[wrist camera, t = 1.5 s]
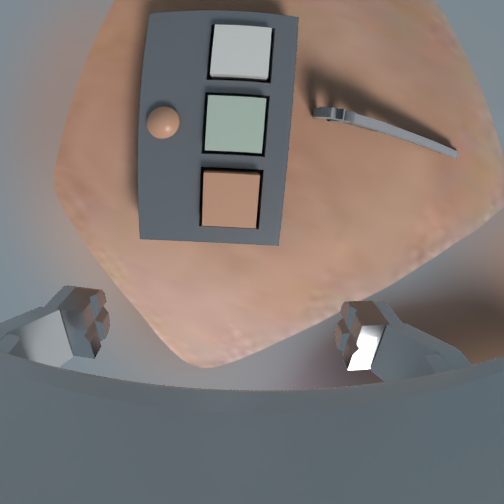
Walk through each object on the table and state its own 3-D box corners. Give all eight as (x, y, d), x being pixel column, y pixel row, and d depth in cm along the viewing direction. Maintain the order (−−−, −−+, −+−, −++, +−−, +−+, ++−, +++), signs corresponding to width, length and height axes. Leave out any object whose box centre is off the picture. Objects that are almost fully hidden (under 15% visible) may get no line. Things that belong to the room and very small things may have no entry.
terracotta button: (206, 168, 29) (203, 172, 26) (257, 170, 29) (260, 175, 26) (205, 216, 31) (202, 225, 28) (253, 219, 31) (255, 228, 28)
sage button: (211, 98, 26) (208, 95, 23) (263, 101, 26) (266, 98, 24) (207, 148, 28) (204, 150, 25) (259, 150, 28) (261, 153, 26)
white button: (216, 33, 23) (214, 24, 21) (268, 37, 24) (271, 27, 21) (212, 79, 25) (210, 73, 23) (264, 82, 26) (267, 77, 23)
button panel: (159, 25, 24) (148, 11, 20) (291, 29, 25) (299, 15, 21) (149, 226, 33) (138, 241, 29) (273, 232, 34) (279, 248, 30)
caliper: (310, 118, 29) (327, 116, 24) (311, 108, 29) (329, 104, 23) (454, 158, 31) (485, 167, 26) (456, 151, 31) (487, 158, 25)
